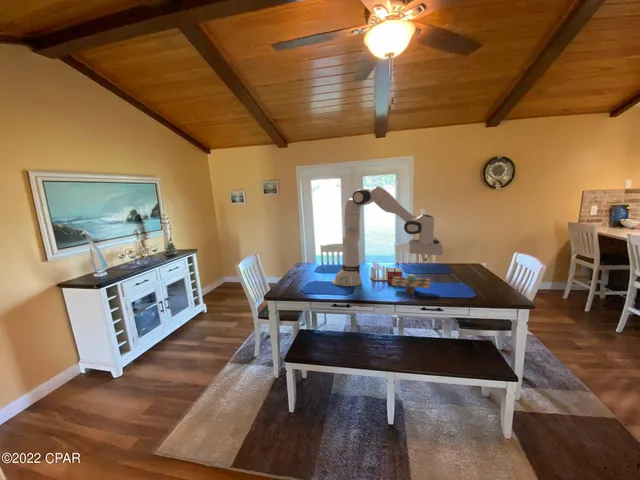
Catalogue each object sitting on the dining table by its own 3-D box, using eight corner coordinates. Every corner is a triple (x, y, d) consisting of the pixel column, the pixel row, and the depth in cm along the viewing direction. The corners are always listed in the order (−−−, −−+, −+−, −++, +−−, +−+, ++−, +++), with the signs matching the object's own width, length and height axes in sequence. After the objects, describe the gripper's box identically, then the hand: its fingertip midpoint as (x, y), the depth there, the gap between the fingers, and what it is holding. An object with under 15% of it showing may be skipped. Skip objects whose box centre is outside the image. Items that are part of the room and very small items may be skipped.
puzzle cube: (402, 285, 198) (402, 271, 196) (387, 284, 200) (387, 271, 198) (400, 280, 208) (400, 268, 206) (387, 280, 210) (387, 267, 208)
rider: (407, 283, 182) (407, 275, 181) (408, 281, 186) (408, 273, 185) (414, 283, 180) (414, 276, 179) (415, 281, 184) (415, 274, 183)
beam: (391, 292, 185) (391, 280, 183) (393, 287, 193) (393, 276, 191) (429, 296, 175) (429, 283, 174) (430, 291, 184) (430, 278, 182)
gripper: (408, 240, 176) (408, 260, 178) (443, 241, 168) (442, 263, 170) (409, 238, 181) (409, 258, 184) (443, 239, 173) (442, 260, 176)
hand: (425, 260), depth 177 cm, fingers closed
